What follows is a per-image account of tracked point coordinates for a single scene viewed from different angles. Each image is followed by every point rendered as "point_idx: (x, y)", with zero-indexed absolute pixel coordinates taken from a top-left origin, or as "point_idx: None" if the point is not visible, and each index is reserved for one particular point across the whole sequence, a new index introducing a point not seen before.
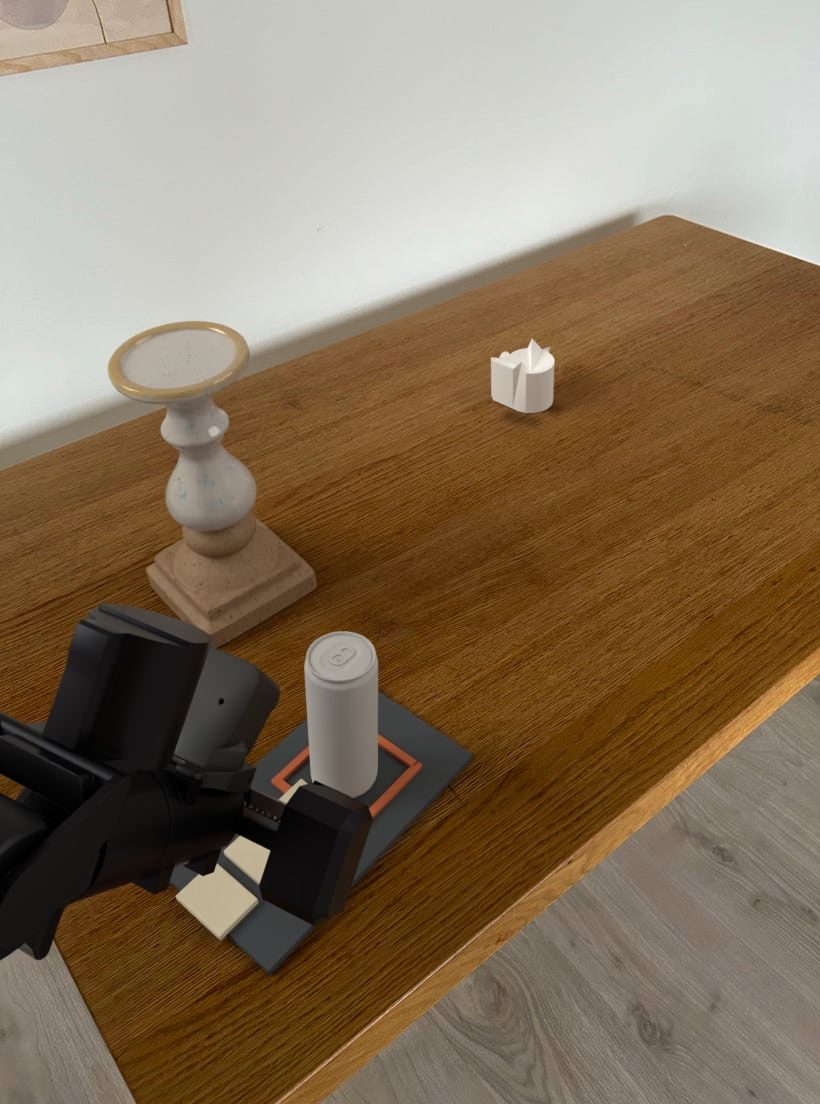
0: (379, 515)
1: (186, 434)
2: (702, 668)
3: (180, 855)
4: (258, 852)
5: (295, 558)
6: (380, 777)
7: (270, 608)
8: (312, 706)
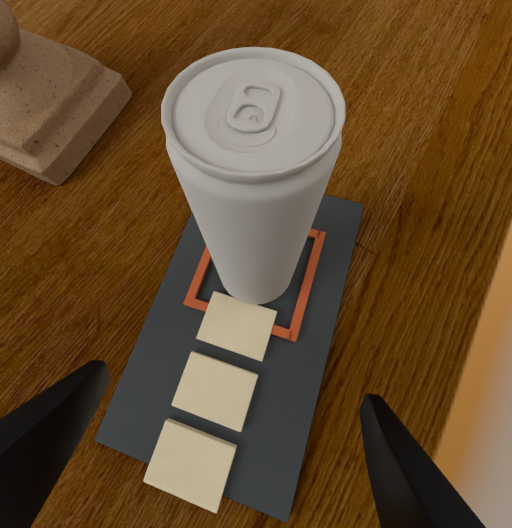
0: (157, 14)
1: None
2: (506, 60)
3: None
4: (210, 392)
5: (92, 60)
6: None
7: (96, 126)
8: (221, 238)
